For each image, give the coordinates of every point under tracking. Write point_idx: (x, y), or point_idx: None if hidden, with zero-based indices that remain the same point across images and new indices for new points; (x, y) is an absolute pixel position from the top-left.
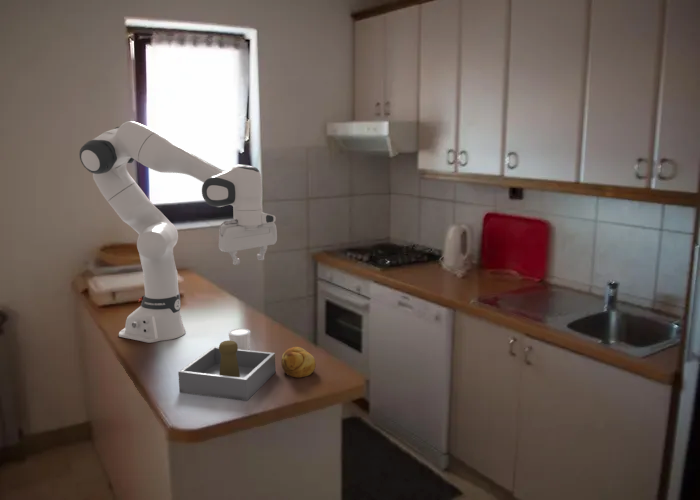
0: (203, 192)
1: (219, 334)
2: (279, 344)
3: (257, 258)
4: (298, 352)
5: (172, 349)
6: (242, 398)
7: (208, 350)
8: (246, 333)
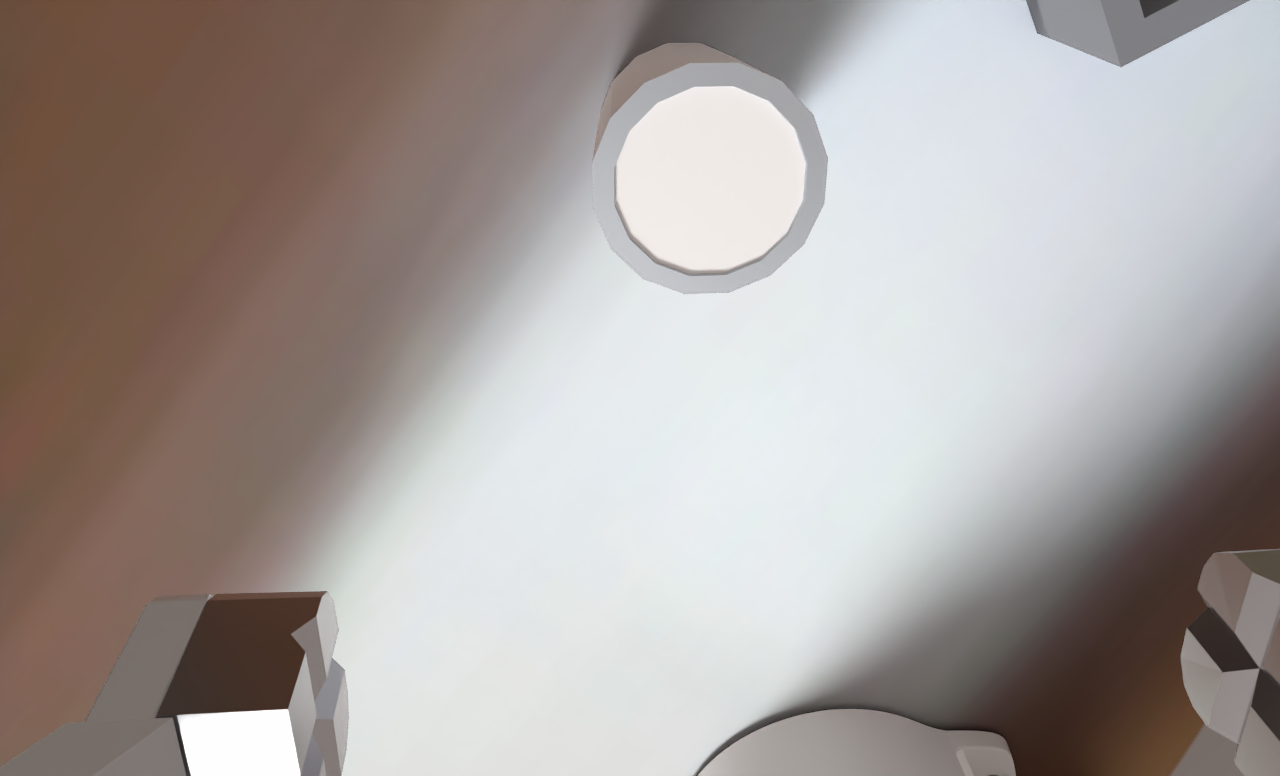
0: None
1: (540, 592)
2: (264, 24)
3: (344, 745)
4: None
5: (988, 550)
6: None
7: (1230, 3)
8: (695, 82)
